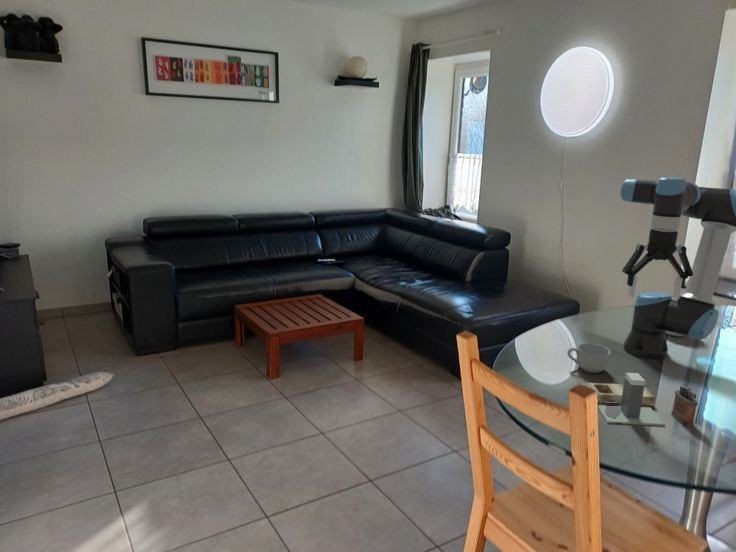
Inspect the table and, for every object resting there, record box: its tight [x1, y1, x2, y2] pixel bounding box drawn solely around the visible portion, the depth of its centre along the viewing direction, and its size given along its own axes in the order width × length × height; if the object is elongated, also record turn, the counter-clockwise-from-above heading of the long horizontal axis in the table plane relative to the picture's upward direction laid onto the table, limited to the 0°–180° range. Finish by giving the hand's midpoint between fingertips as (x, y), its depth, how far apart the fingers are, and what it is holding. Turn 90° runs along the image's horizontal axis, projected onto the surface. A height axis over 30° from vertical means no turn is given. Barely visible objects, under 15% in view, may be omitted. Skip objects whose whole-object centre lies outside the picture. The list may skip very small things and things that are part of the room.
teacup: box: [567, 342, 611, 374], centre depth 193 cm, size 14×11×8 cm
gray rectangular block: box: [619, 372, 646, 418], centre depth 161 cm, size 4×5×12 cm
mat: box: [598, 404, 666, 427], centre depth 162 cm, size 16×10×1 cm, turn 86°
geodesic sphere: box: [665, 331, 684, 338], centre depth 227 cm, size 15×14×14 cm
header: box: [579, 382, 656, 407], centre depth 173 cm, size 20×8×3 cm, turn 86°
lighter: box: [670, 384, 699, 428], centre depth 159 cm, size 8×3×10 cm, turn 5°
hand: (653, 296), depth 171 cm, fingers open, 13 cm apart
